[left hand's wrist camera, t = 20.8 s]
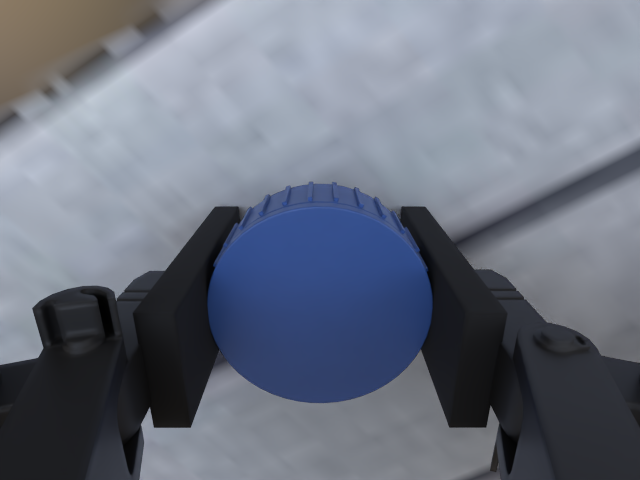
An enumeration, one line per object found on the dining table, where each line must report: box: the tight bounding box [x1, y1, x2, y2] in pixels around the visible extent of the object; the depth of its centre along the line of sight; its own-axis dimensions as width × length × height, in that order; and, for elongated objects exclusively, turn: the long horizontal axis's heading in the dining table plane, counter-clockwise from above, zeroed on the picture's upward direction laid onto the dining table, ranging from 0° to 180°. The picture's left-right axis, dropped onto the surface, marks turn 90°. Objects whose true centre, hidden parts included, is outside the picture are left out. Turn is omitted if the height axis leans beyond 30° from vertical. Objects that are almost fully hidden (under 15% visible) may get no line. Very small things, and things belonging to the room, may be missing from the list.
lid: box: [207, 182, 433, 403], centre depth 11 cm, size 6×6×2 cm
